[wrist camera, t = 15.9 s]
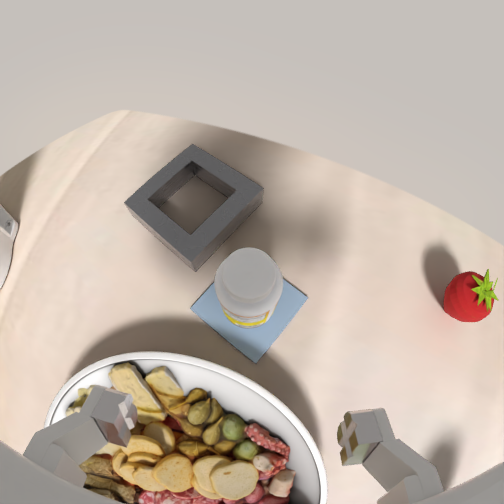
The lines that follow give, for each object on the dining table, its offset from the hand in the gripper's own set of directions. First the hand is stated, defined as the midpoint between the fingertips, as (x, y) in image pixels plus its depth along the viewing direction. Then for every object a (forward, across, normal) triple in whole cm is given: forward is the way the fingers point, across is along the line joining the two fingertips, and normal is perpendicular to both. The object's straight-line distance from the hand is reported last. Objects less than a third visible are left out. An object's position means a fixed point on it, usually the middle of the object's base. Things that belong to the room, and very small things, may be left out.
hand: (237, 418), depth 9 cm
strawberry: (+20, -26, +7) cm, 34 cm away
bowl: (+5, +6, +23) cm, 24 cm away
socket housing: (+28, +8, -1) cm, 29 cm away
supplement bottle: (+20, 0, +7) cm, 21 cm away
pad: (+20, 0, +7) cm, 21 cm away
